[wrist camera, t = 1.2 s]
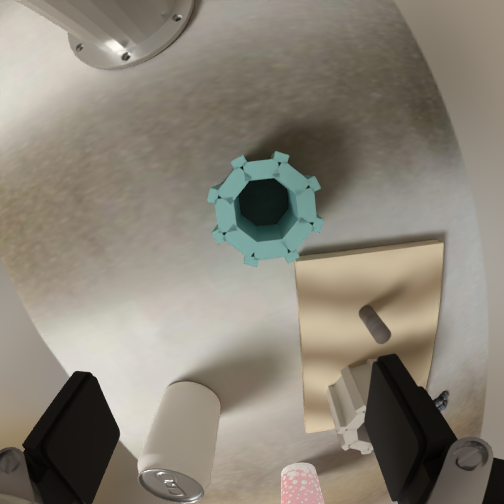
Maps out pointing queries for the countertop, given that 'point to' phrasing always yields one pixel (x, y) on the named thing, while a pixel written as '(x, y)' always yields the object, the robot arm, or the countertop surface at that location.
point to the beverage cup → (300, 485)
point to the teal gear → (275, 235)
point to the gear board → (365, 315)
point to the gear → (351, 407)
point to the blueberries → (441, 401)
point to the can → (181, 444)
